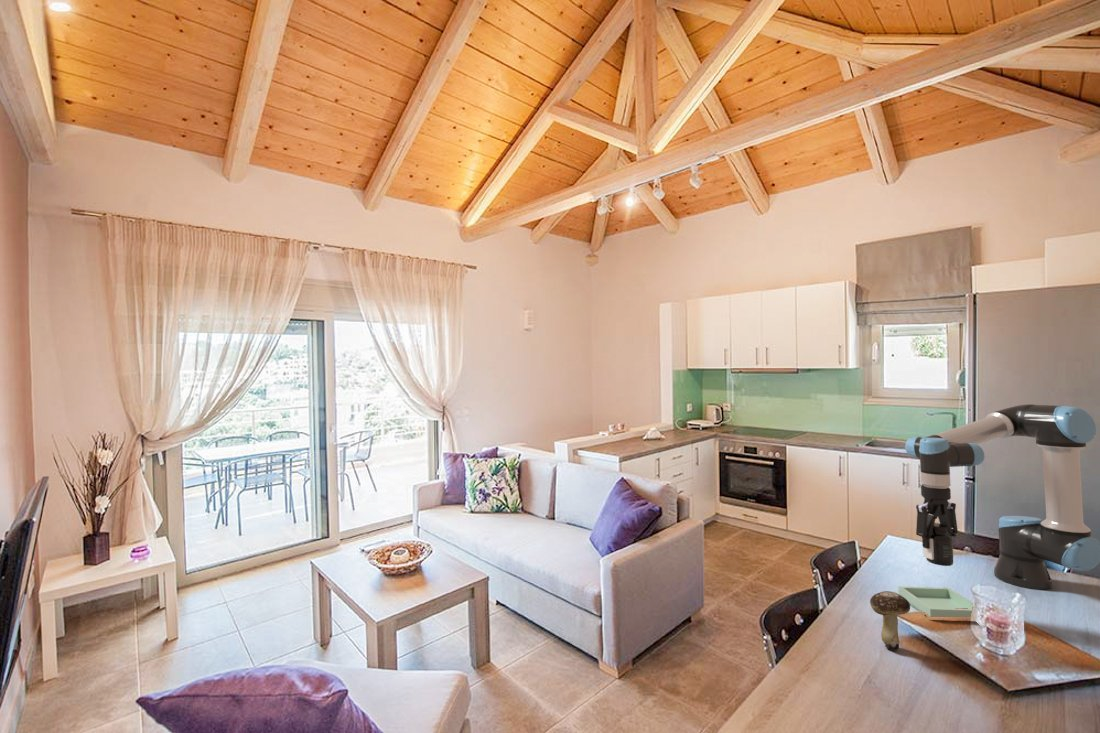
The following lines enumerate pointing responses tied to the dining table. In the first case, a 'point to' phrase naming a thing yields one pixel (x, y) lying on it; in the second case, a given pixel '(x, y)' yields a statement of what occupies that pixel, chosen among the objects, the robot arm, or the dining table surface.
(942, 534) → the supplement bottle
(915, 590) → the bin
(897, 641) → the mushroom
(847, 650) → the dining table surface
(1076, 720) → the dining table surface
